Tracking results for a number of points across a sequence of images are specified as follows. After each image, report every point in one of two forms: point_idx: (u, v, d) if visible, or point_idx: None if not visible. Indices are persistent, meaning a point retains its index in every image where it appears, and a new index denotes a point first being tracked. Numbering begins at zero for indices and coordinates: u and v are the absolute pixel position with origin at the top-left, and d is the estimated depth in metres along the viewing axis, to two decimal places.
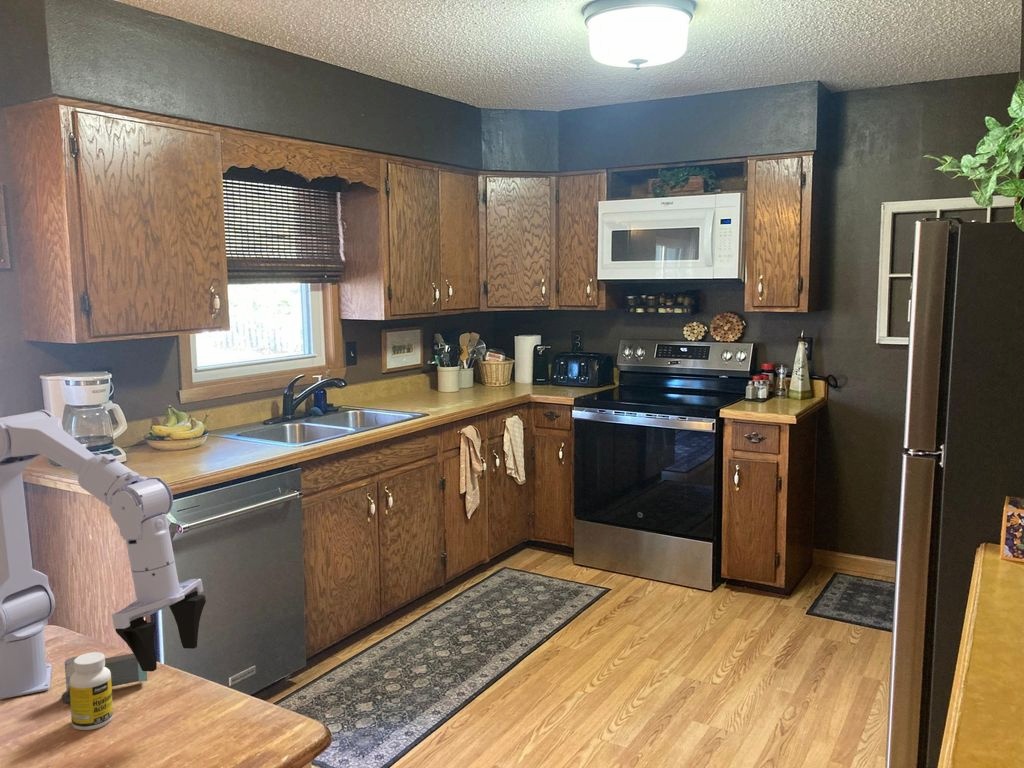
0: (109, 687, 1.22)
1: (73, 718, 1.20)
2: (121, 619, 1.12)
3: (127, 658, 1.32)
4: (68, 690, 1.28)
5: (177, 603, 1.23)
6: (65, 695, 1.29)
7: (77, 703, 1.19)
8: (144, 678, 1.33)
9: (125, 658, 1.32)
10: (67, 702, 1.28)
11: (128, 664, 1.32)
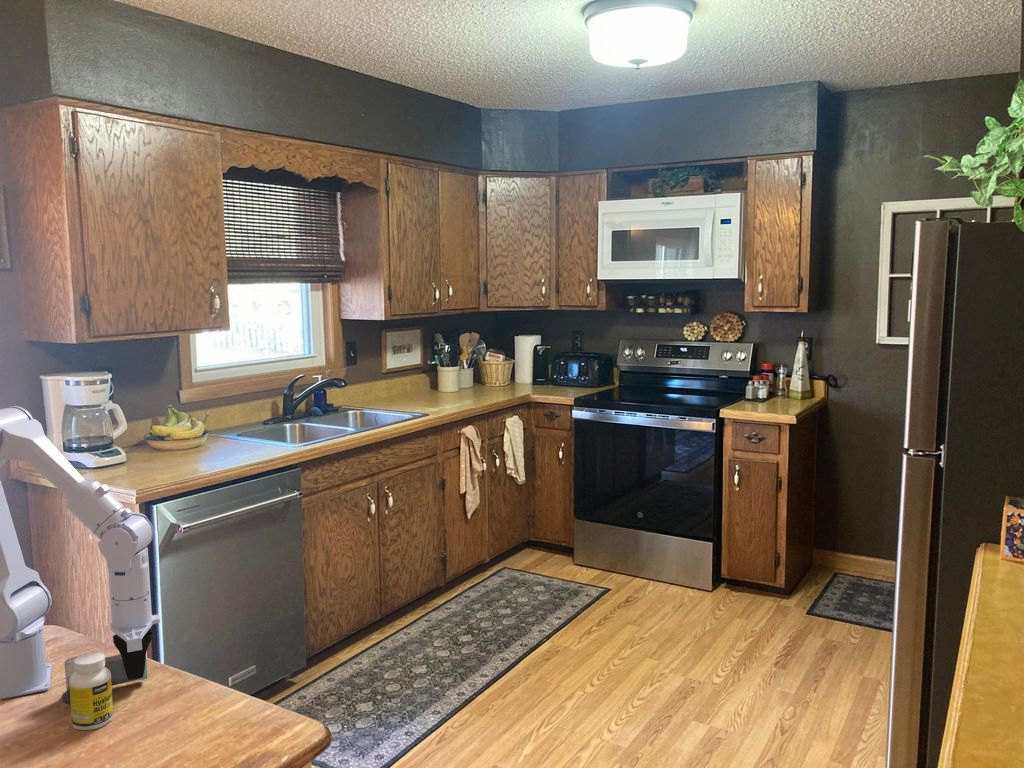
0: (109, 687, 1.22)
1: (73, 718, 1.20)
2: (139, 642, 1.25)
3: None
4: (68, 690, 1.28)
5: None
6: (65, 695, 1.29)
7: (77, 703, 1.19)
8: (144, 676, 1.33)
9: None
10: (67, 702, 1.28)
11: None
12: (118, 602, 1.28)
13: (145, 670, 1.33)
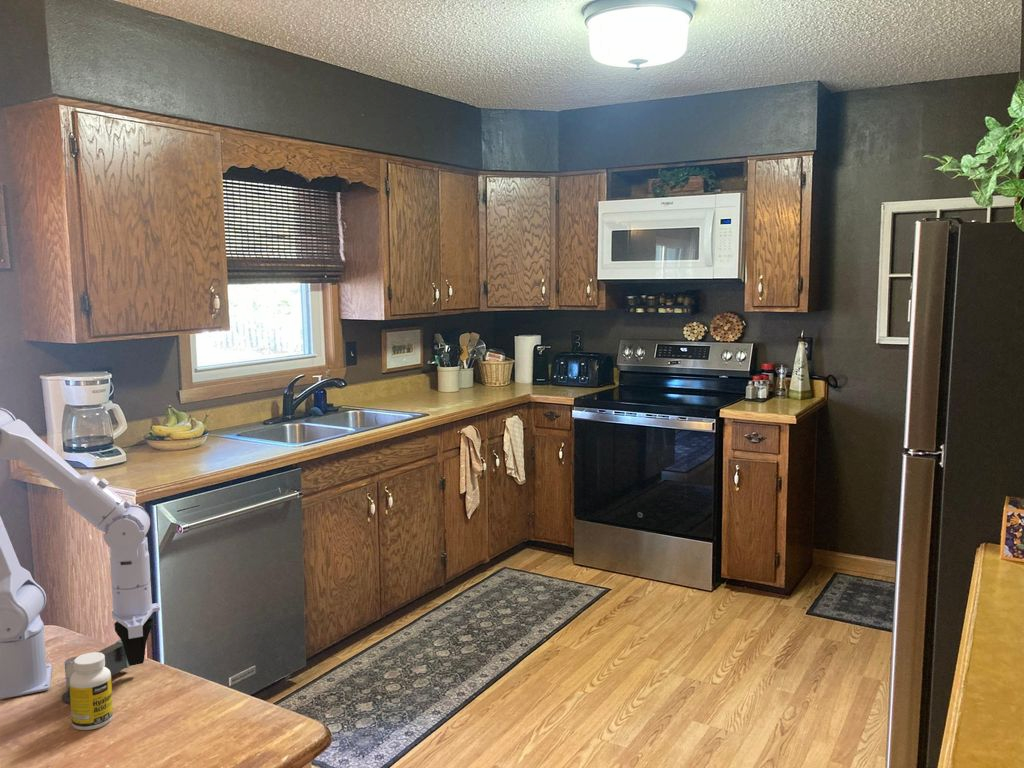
0: (109, 687, 1.22)
1: (73, 718, 1.20)
2: (140, 629, 1.29)
3: (116, 647, 1.35)
4: None
5: None
6: (65, 695, 1.29)
7: (77, 703, 1.19)
8: None
9: (114, 648, 1.35)
10: (67, 702, 1.28)
11: (118, 653, 1.35)
12: (119, 590, 1.32)
13: None
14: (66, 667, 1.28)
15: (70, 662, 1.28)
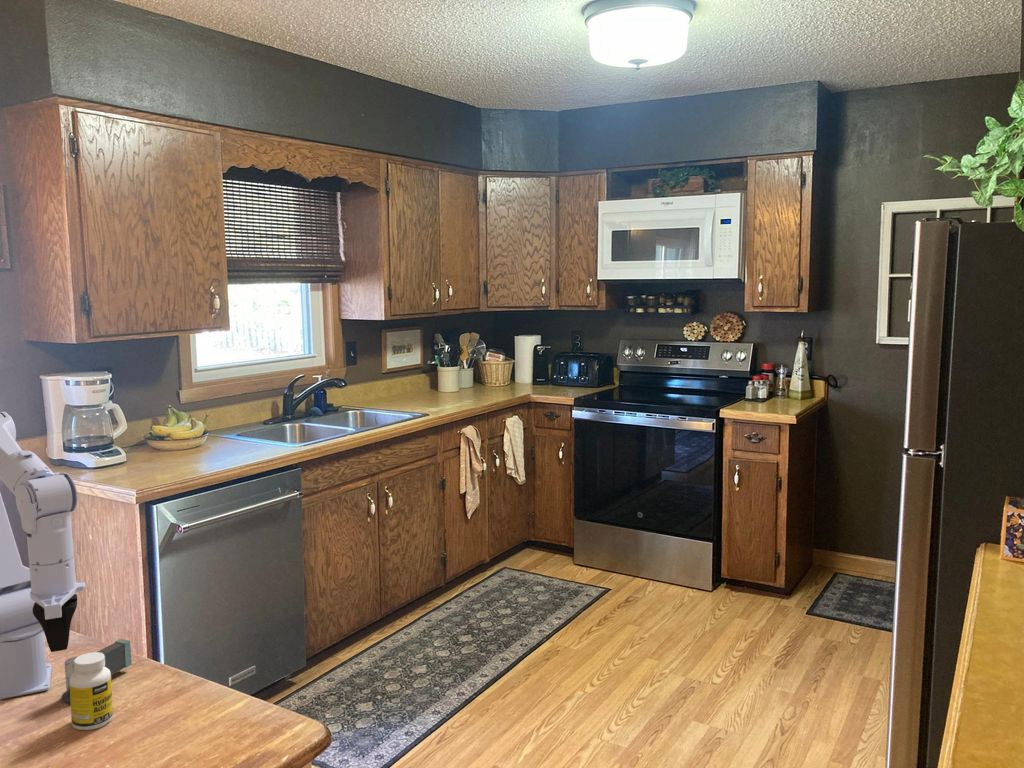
0: (109, 687, 1.22)
1: (73, 718, 1.20)
2: (58, 609, 1.16)
3: (115, 647, 1.35)
4: None
5: None
6: (65, 695, 1.29)
7: (77, 703, 1.19)
8: (129, 663, 1.38)
9: (113, 648, 1.35)
10: (67, 702, 1.28)
11: (117, 653, 1.36)
12: (37, 567, 1.18)
13: (130, 657, 1.38)
14: (66, 667, 1.28)
15: (70, 662, 1.28)
